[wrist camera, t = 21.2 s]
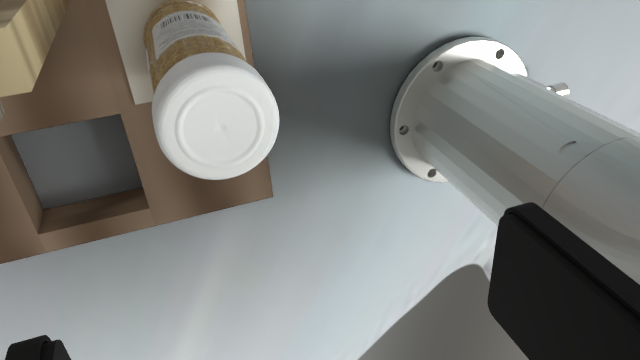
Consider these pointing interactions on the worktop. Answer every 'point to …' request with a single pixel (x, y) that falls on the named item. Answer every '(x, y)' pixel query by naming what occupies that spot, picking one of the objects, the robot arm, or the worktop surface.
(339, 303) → the worktop surface
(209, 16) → the sprinkles bottle
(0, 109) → the bolt
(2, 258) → the brown wooden frame
